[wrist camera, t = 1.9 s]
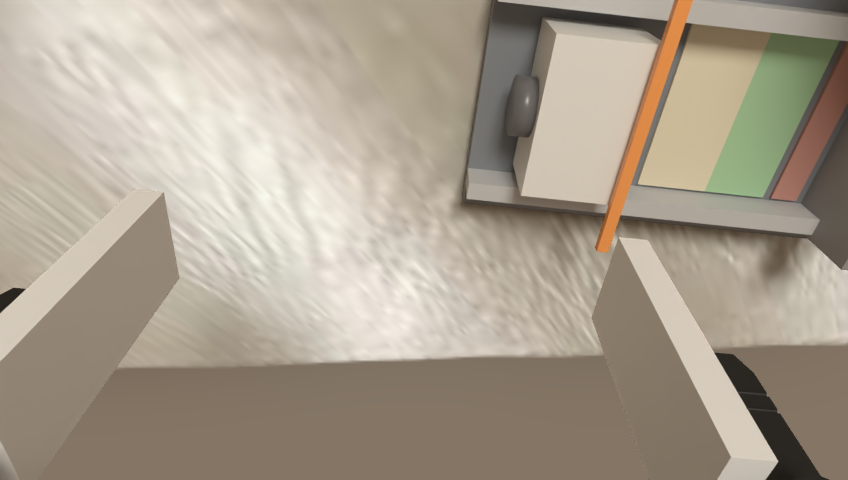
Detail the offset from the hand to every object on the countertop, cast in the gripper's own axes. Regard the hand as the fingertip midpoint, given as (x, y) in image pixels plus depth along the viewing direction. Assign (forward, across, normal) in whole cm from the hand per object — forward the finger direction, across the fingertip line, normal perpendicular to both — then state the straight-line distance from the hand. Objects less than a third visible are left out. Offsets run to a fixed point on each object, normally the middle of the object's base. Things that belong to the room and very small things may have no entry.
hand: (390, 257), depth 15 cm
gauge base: (+18, +14, 0) cm, 23 cm away
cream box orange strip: (+17, +8, 0) cm, 19 cm away
